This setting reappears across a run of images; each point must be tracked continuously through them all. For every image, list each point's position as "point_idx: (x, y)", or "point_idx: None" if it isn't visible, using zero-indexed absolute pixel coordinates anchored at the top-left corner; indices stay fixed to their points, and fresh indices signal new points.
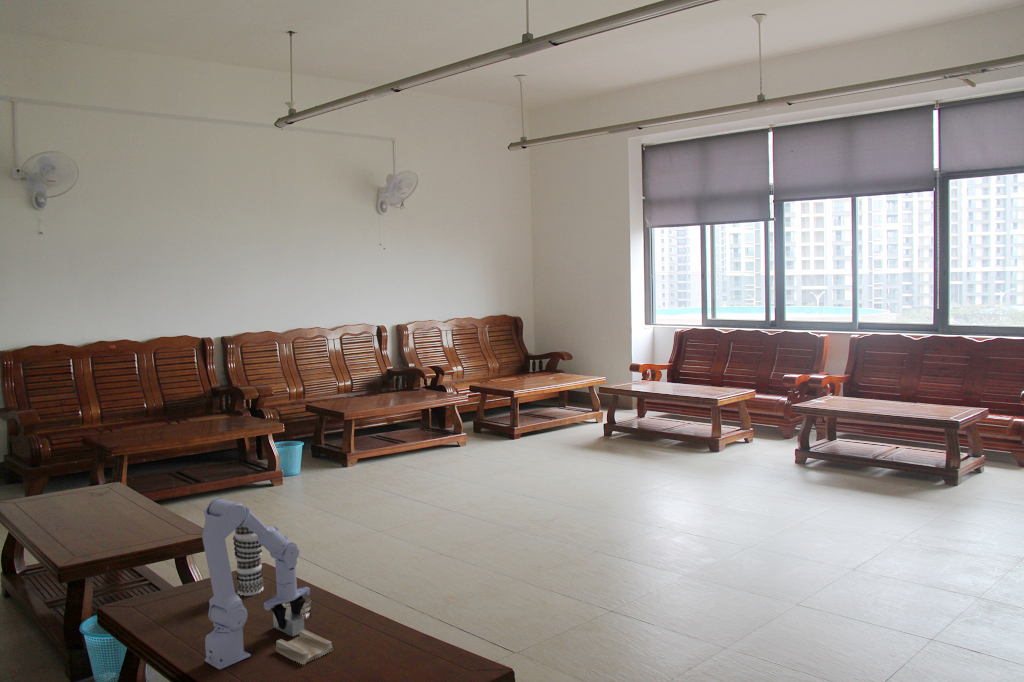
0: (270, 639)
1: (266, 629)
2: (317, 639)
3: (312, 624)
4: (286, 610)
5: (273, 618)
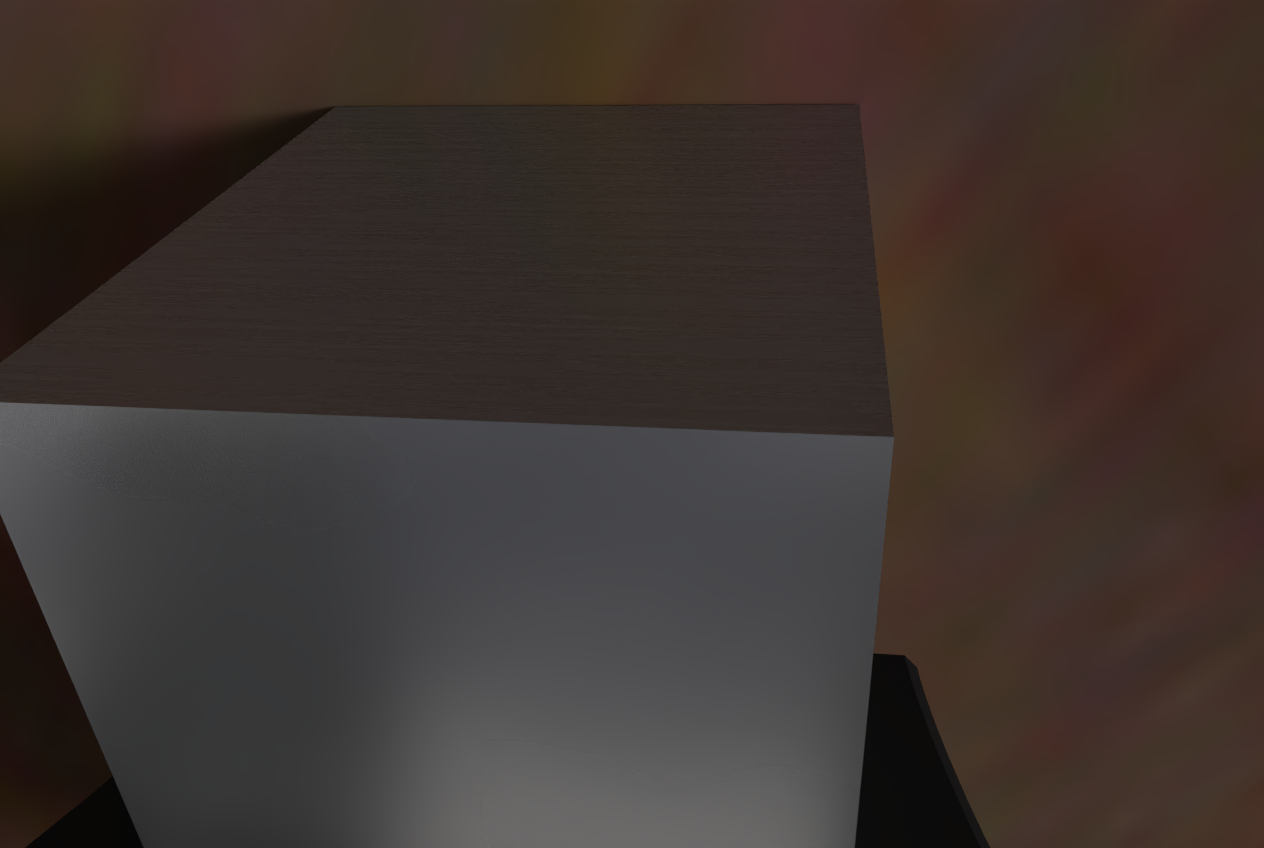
0: (26, 635)
1: (76, 8)
2: None
3: (1259, 835)
4: (779, 731)
5: (152, 276)
